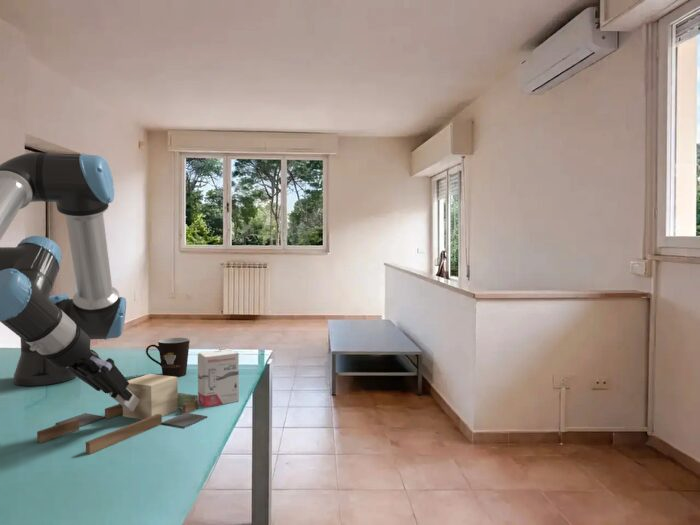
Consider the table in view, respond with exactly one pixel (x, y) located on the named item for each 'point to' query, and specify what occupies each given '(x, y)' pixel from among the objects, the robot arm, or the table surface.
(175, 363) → the coffee mug
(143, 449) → the table surface
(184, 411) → the channel
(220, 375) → the ink box
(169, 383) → the beech block
